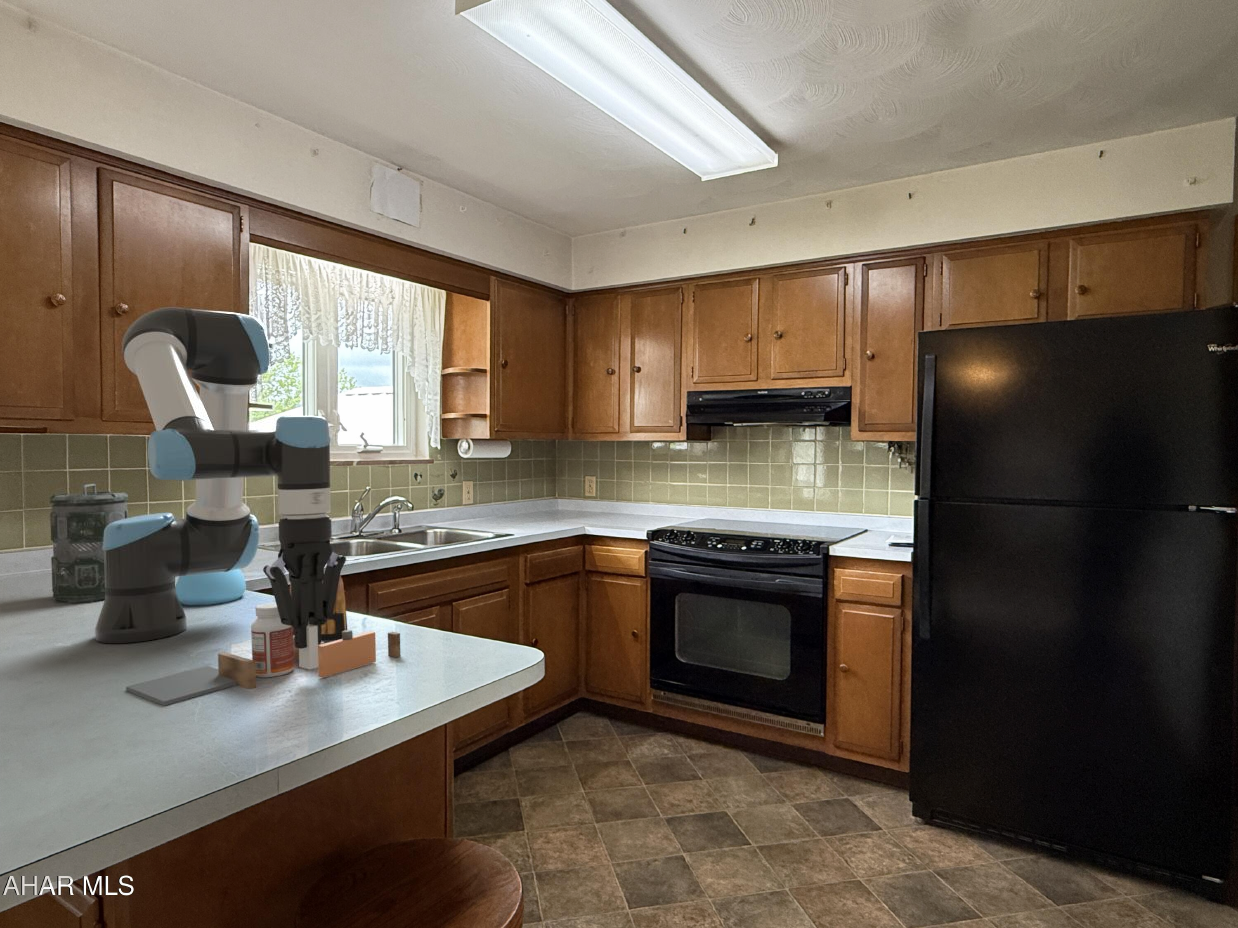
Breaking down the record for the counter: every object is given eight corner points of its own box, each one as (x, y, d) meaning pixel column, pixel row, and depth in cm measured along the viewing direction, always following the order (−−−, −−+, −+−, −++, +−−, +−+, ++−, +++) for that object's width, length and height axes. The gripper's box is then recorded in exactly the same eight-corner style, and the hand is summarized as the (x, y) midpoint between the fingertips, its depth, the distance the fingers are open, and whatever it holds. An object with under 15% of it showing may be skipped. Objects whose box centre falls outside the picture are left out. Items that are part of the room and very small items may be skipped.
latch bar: (317, 676, 115) (316, 637, 115) (370, 660, 124) (369, 624, 123) (323, 678, 114) (322, 639, 114) (376, 661, 123) (375, 625, 123)
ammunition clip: (348, 637, 140) (346, 575, 139) (345, 639, 138) (343, 576, 137) (291, 638, 139) (289, 576, 139) (287, 641, 137) (285, 578, 137)
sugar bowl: (159, 605, 170) (157, 556, 170) (209, 592, 185) (208, 547, 184) (213, 608, 167) (211, 557, 166) (260, 594, 181) (258, 548, 181)
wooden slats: (218, 678, 115) (217, 653, 115) (346, 643, 135) (346, 622, 135) (271, 695, 107) (271, 669, 107) (400, 655, 127) (400, 633, 126)
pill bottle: (297, 665, 122) (296, 599, 122) (290, 676, 116) (289, 607, 116) (257, 668, 121) (255, 602, 120) (248, 680, 115) (246, 610, 114)
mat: (126, 690, 110) (126, 686, 110) (207, 669, 120) (207, 665, 120) (164, 705, 104) (164, 701, 104) (246, 681, 114) (246, 678, 114)
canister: (122, 600, 176) (118, 484, 175) (42, 606, 170) (38, 487, 169) (138, 588, 190) (135, 481, 190) (65, 593, 185) (61, 483, 184)
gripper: (279, 521, 105) (283, 682, 106) (356, 513, 116) (359, 659, 117) (250, 518, 109) (254, 674, 110) (327, 511, 120) (330, 652, 121)
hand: (308, 666), depth 113 cm, fingers closed
